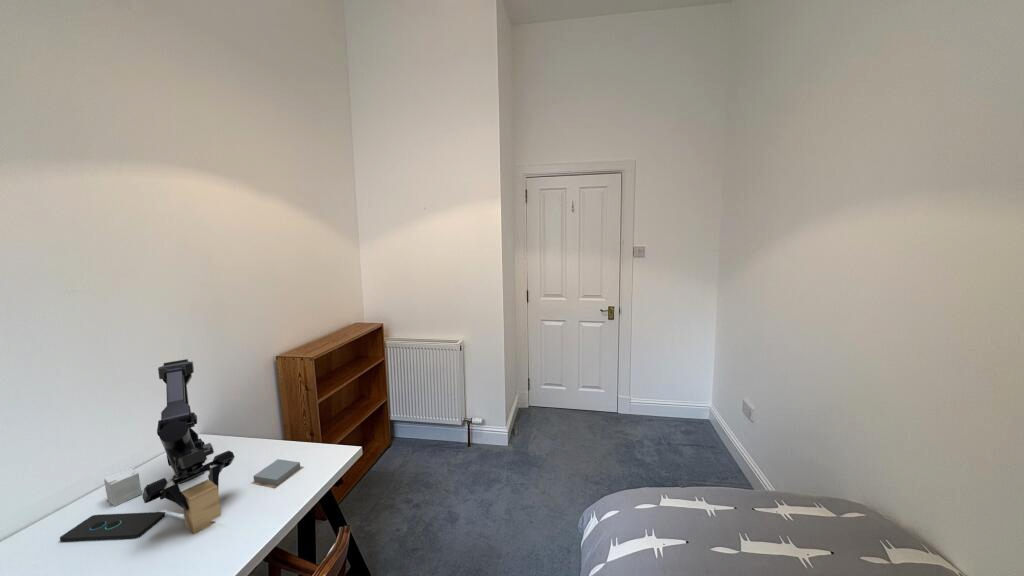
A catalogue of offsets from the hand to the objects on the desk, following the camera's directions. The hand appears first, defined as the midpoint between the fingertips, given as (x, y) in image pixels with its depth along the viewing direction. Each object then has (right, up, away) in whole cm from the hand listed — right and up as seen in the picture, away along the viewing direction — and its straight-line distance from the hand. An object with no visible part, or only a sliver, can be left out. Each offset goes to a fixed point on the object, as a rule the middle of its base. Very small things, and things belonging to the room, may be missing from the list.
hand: (202, 502), depth 95 cm
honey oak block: (-1, -7, +2) cm, 7 cm away
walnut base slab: (+7, -5, +20) cm, 22 cm away
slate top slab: (+7, -3, +20) cm, 21 cm away
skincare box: (-35, -6, +12) cm, 37 cm away
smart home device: (-24, -8, 0) cm, 25 cm away
